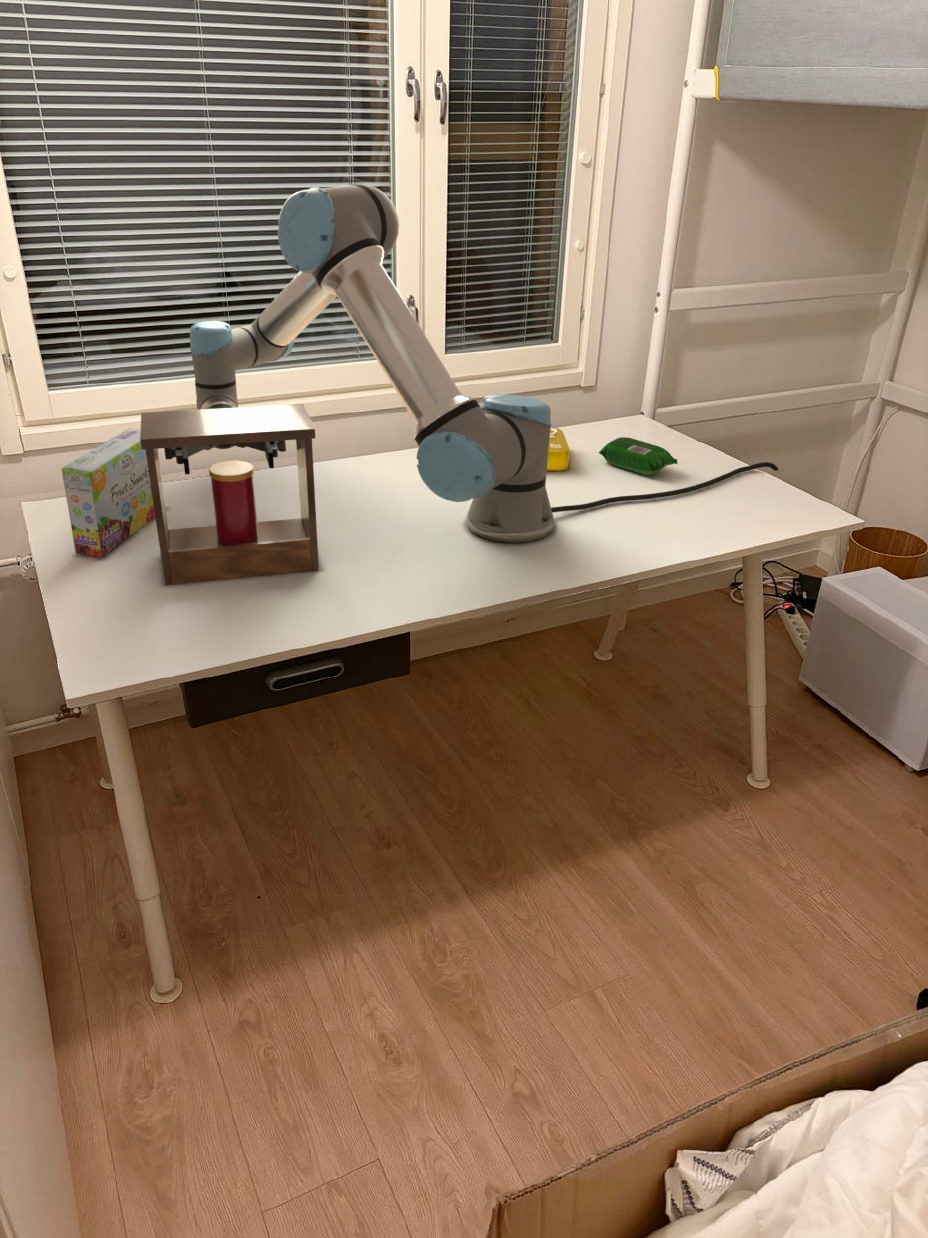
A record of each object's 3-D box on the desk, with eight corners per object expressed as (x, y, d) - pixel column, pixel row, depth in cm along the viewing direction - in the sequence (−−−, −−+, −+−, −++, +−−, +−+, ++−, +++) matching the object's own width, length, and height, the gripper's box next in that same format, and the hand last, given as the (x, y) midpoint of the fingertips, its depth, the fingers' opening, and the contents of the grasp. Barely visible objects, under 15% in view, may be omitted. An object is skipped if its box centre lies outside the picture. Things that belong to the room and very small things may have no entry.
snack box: (106, 559, 151) (90, 471, 144) (74, 555, 152) (57, 467, 145) (167, 509, 170) (156, 428, 162) (139, 505, 170) (126, 425, 163)
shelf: (311, 538, 161) (303, 403, 149) (322, 570, 150) (315, 428, 139) (161, 551, 154) (141, 412, 143) (162, 586, 144) (140, 439, 132)
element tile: (492, 445, 204) (492, 424, 202) (560, 446, 205) (562, 425, 202) (496, 470, 191) (497, 448, 189) (569, 471, 192) (571, 449, 189)
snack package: (658, 483, 188) (661, 458, 185) (595, 462, 197) (598, 438, 194) (677, 474, 192) (681, 450, 190) (615, 454, 202) (618, 431, 199)
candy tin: (257, 528, 154) (251, 458, 148) (261, 545, 148) (255, 473, 142) (215, 531, 152) (207, 461, 146) (218, 549, 147) (209, 477, 141)
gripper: (291, 438, 177) (306, 478, 159) (152, 447, 170) (153, 490, 153) (288, 399, 173) (304, 436, 155) (147, 407, 167) (146, 446, 149)
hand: (229, 463), depth 154 cm, fingers open, 13 cm apart
